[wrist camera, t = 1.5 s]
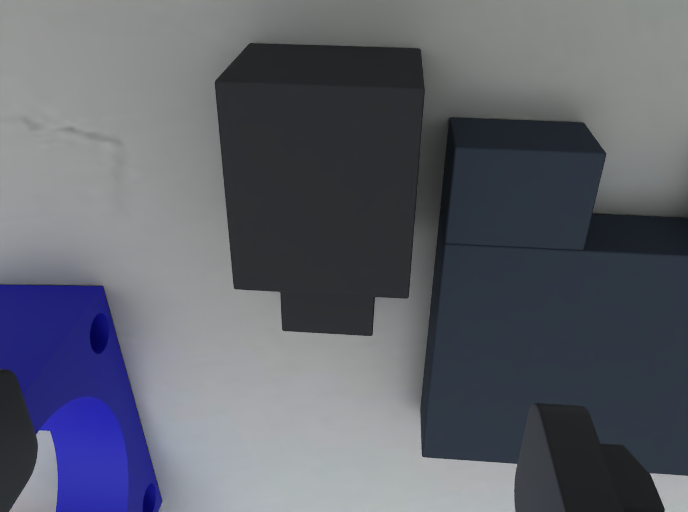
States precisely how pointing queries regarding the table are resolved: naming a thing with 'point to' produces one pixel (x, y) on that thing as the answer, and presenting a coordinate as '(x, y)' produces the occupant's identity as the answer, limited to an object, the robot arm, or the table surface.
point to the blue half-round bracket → (78, 395)
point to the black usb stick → (322, 177)
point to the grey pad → (551, 301)
